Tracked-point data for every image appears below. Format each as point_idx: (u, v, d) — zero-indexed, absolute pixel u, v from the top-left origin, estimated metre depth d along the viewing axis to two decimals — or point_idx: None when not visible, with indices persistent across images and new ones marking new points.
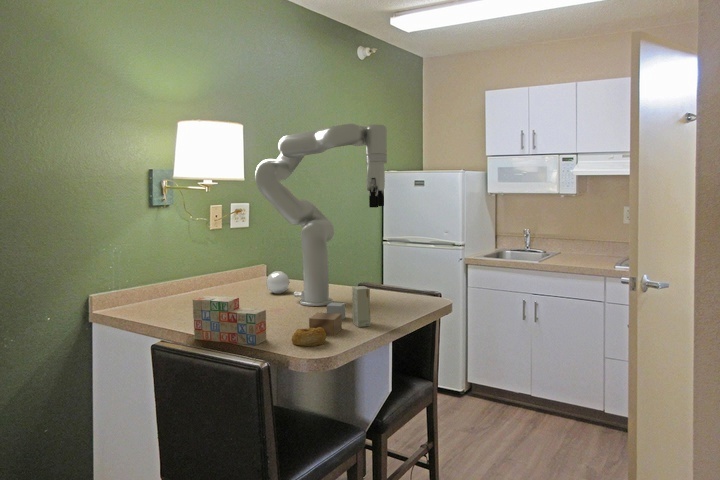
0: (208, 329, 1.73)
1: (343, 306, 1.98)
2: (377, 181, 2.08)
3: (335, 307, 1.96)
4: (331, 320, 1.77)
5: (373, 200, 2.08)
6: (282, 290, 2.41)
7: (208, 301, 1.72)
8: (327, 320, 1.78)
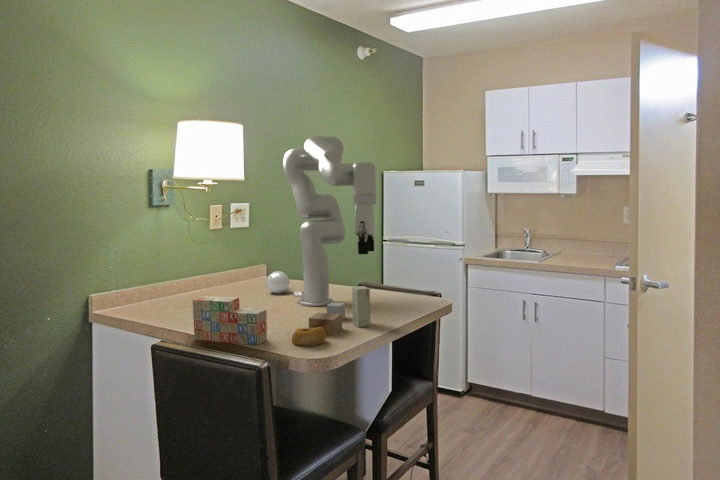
0: (208, 329, 1.72)
1: (343, 306, 1.98)
2: (366, 225, 1.87)
3: (335, 307, 1.96)
4: (330, 320, 1.77)
5: (362, 246, 1.87)
6: (282, 290, 2.41)
7: (208, 301, 1.72)
8: (326, 320, 1.78)
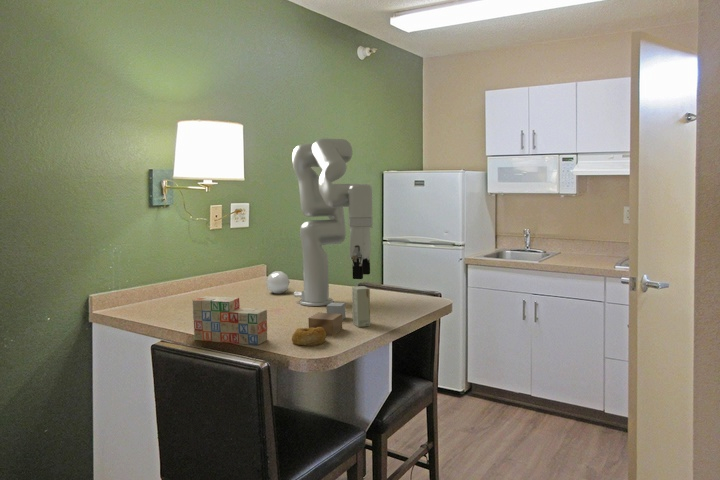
0: (208, 329, 1.72)
1: (343, 306, 1.98)
2: (361, 249, 1.82)
3: (335, 307, 1.96)
4: (330, 320, 1.77)
5: (357, 271, 1.82)
6: (282, 290, 2.41)
7: (209, 301, 1.71)
8: (326, 320, 1.78)
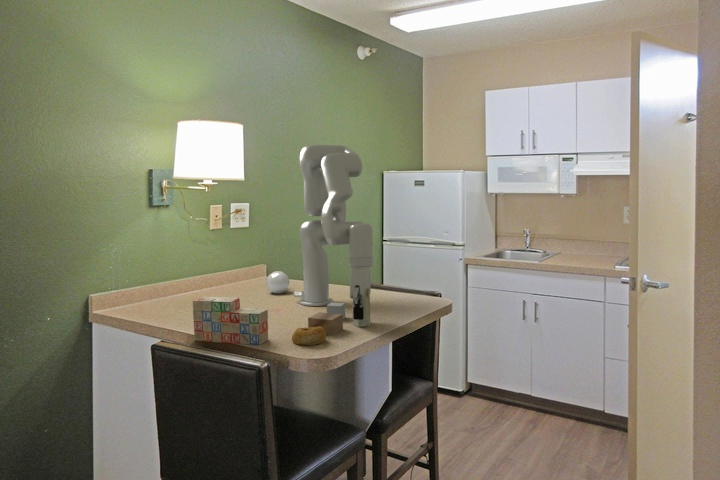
0: (209, 329, 1.72)
1: (343, 306, 1.98)
2: (361, 289, 1.83)
3: (335, 307, 1.96)
4: (329, 320, 1.77)
5: (357, 312, 1.85)
6: (282, 290, 2.41)
7: (209, 302, 1.71)
8: (325, 320, 1.78)
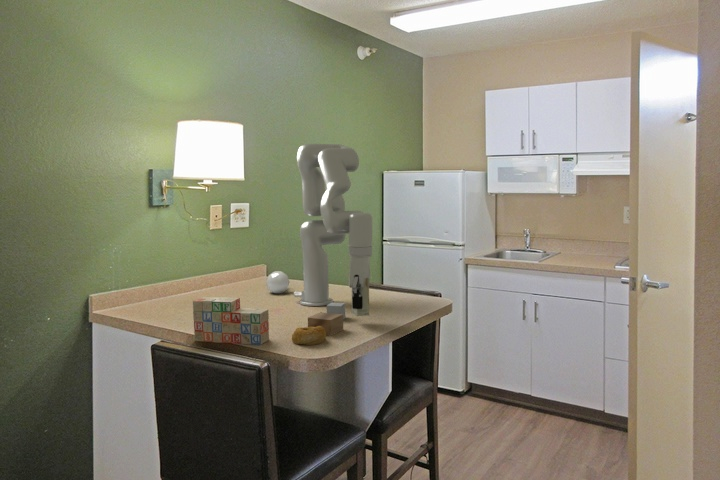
0: (209, 330, 1.71)
1: (343, 306, 1.98)
2: (361, 279, 1.84)
3: (335, 307, 1.96)
4: (328, 320, 1.77)
5: (356, 301, 1.85)
6: (282, 290, 2.41)
7: (210, 302, 1.71)
8: (324, 320, 1.78)
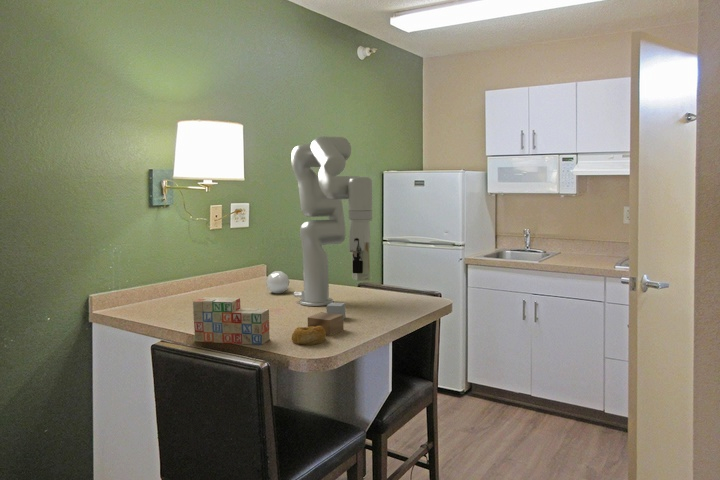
0: (210, 330, 1.71)
1: (343, 306, 1.98)
2: (361, 242, 1.82)
3: (335, 307, 1.96)
4: (327, 320, 1.77)
5: (357, 265, 1.83)
6: (282, 290, 2.41)
7: (210, 302, 1.70)
8: (323, 320, 1.78)
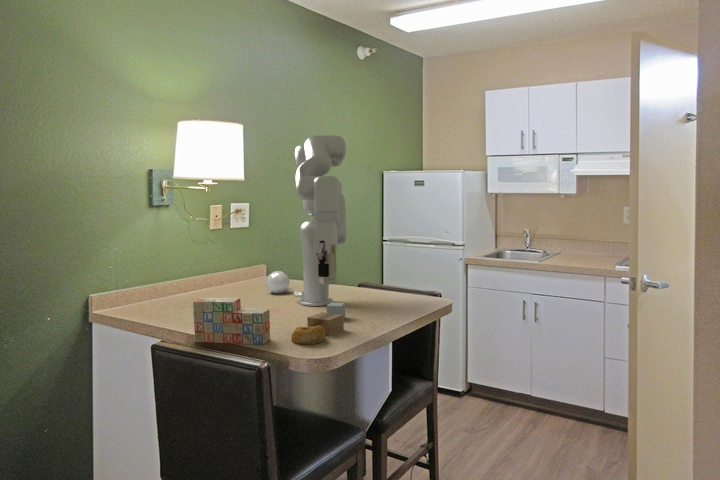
0: (210, 330, 1.71)
1: (343, 306, 1.98)
2: (326, 244, 1.75)
3: (335, 307, 1.96)
4: (326, 320, 1.77)
5: (322, 269, 1.76)
6: (282, 290, 2.41)
7: (210, 302, 1.70)
8: (322, 320, 1.78)
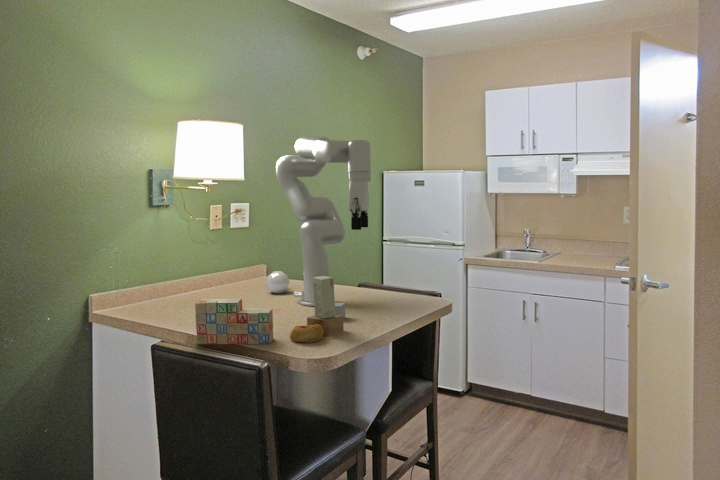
0: (213, 332, 1.69)
1: (343, 306, 1.98)
2: (360, 201, 1.92)
3: (335, 307, 1.96)
4: (326, 321, 1.76)
5: (355, 222, 1.92)
6: (282, 290, 2.42)
7: (214, 303, 1.68)
8: (322, 321, 1.77)
